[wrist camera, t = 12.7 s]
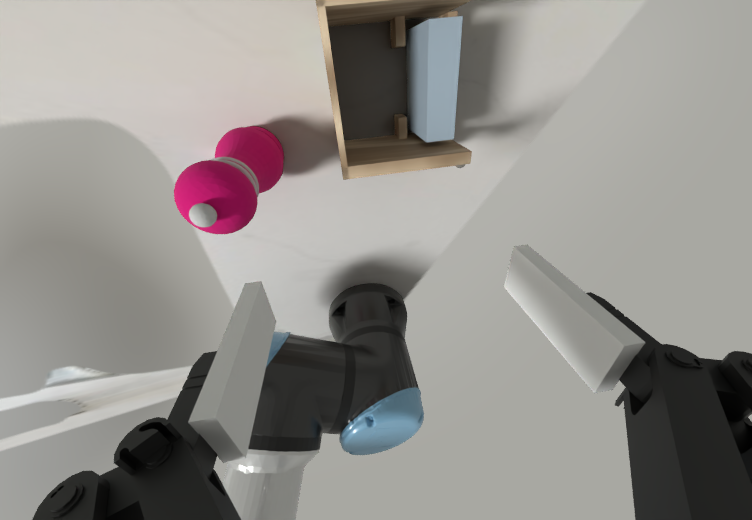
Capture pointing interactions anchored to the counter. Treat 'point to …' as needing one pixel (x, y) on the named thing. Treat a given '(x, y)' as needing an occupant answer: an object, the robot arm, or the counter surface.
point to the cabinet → (403, 150)
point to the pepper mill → (230, 181)
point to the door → (433, 77)
